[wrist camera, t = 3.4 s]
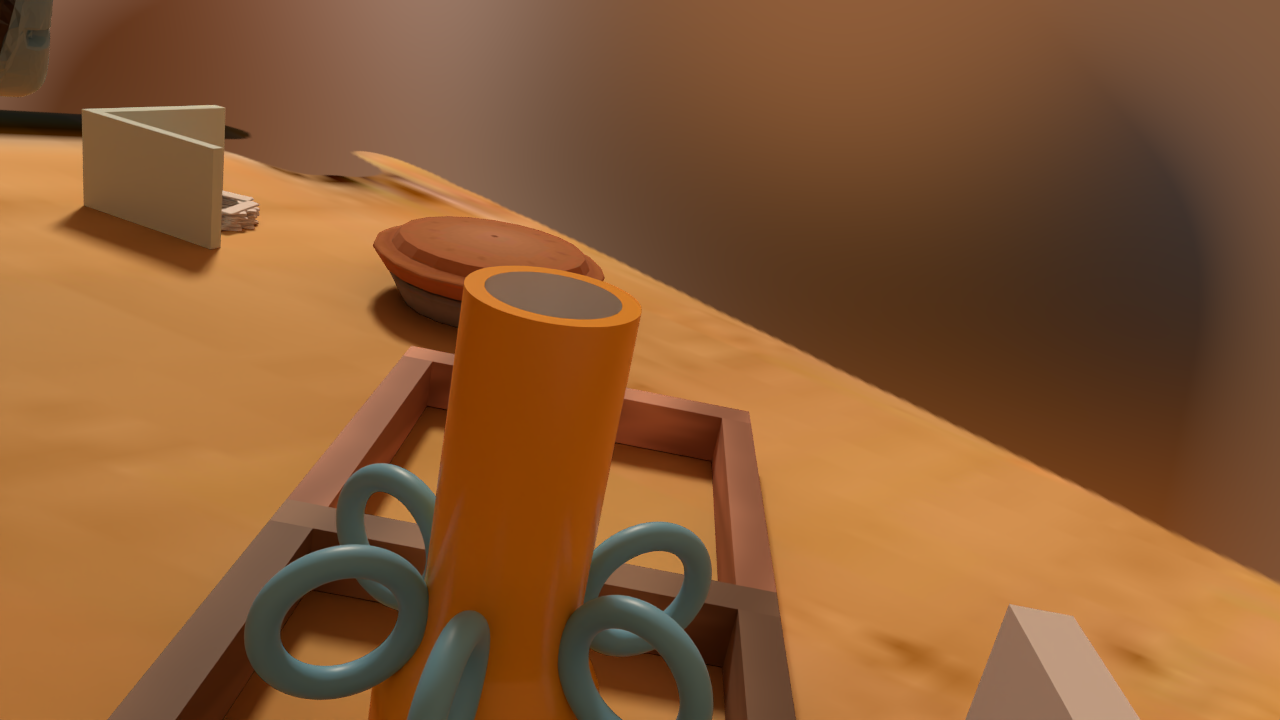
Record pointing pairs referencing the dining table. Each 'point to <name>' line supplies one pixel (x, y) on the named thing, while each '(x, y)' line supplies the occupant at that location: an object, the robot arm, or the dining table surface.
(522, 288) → the orange post with rings
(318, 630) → the dining table surface
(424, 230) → the pie
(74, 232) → the dining table surface
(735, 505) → the rail frame
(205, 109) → the right angle wall
